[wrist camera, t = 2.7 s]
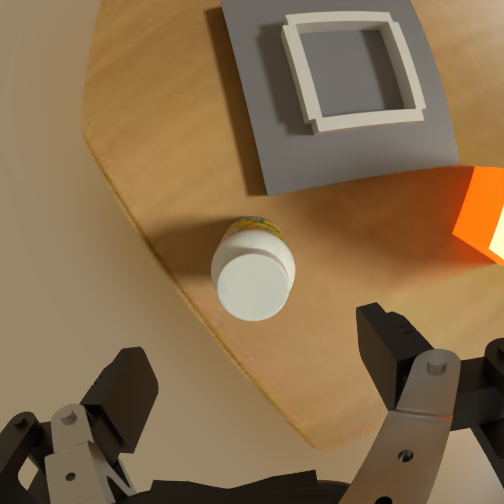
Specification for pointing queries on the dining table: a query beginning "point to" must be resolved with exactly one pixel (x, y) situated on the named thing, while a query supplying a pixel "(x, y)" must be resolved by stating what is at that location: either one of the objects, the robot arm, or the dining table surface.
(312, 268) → the dining table surface
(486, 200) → the orange juice
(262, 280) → the supplement bottle
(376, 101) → the socket board
